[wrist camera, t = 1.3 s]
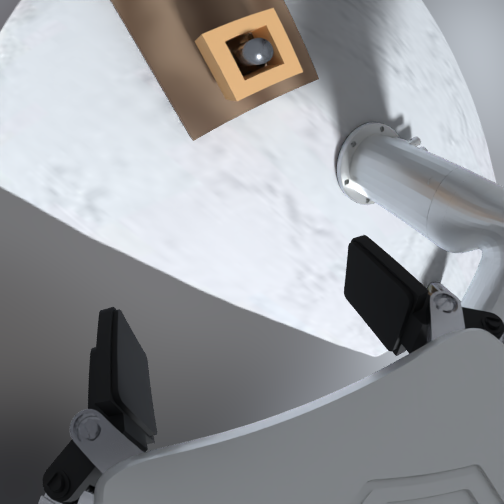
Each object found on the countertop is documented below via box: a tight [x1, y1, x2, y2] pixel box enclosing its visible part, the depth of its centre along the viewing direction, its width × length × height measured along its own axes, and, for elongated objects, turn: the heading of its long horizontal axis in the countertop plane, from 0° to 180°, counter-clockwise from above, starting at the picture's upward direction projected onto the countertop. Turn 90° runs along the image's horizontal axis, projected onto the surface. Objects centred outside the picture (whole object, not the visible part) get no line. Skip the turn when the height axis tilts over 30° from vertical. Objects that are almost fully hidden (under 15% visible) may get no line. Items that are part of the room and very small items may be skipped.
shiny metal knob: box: [225, 33, 274, 76], centre depth 23 cm, size 5×5×7 cm
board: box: [110, 0, 319, 141], centre depth 22 cm, size 16×26×2 cm, turn 25°
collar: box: [194, 8, 303, 101], centre depth 22 cm, size 7×7×4 cm
